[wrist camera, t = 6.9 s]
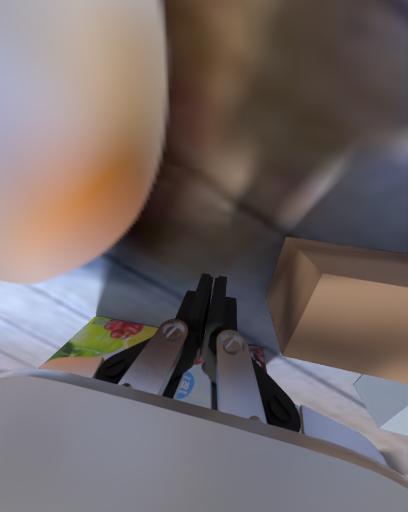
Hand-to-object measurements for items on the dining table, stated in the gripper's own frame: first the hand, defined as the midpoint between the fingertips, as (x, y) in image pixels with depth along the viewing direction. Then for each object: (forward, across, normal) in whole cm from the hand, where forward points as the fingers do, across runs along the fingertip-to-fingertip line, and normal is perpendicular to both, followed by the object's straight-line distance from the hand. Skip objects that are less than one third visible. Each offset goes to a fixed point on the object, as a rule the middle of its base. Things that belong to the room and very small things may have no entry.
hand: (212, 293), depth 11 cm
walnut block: (+4, -11, 0) cm, 12 cm away
